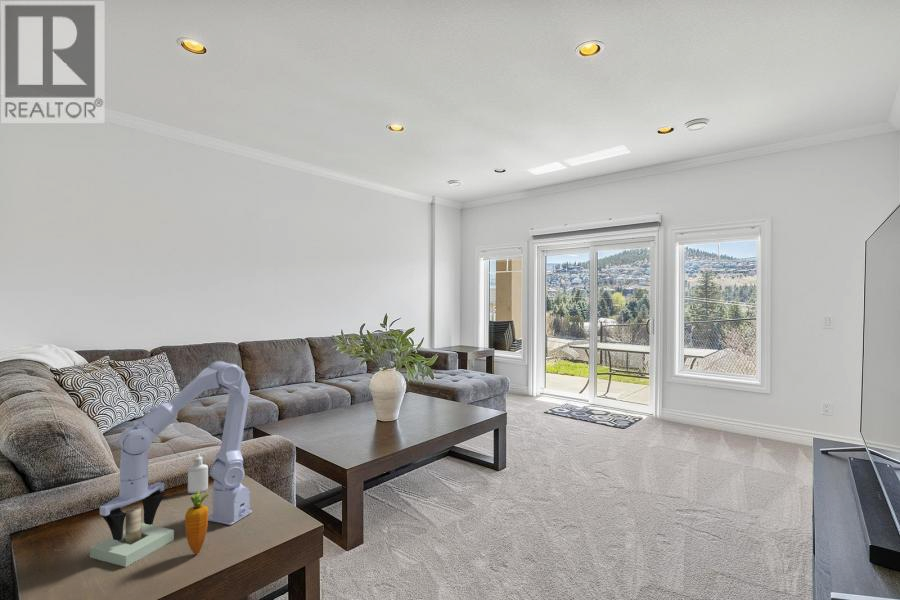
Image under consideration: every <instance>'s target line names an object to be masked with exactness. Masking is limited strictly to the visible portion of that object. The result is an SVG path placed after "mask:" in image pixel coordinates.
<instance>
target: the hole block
mask: <svg viewBox="0 0 900 600" xmlns="http://www.w3.org/2000/svg"><path fill="white" fill-rule="evenodd" d="M174 538H175V530H174V529H171V528H166V527H161V526H158V525H153V524H151V525H148V524H145V523H144V522H142V523H141V540H139V541H137V542H135V543H133V544H131V545H130V544H126V543H125V529H123V537H122V539H121V540H119V541H118V540H114V539H113V536H112V535H111V536H109V537H107V538H105V539H103V540H101V541H99V542H97V543H95V544H94V545H91V546H90V547H89V558H91V559H95V560H98V561H102V562H106V563H108V564H109V563H110V564H114V565H117V566H121V567H124V568H127V567H129V566H130V564H131V565H133V564H134V563H135V561H136V562H138V561H140V560H141V559H143V558H144V557H146V556H149V555H150V554H152V553H153V552H155V551H157V550H158V549H160V548H162V547H164V546H165V545H167V544H170V543H171V542H173V541H175V539H174ZM137 560H138V561H137ZM133 562H134V563H133Z"/></svg>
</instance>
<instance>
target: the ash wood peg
mask: <svg viewBox="0 0 900 600" xmlns="http://www.w3.org/2000/svg"><path fill="white" fill-rule="evenodd" d="M142 508H143V507H141V506H134V507H130V508H128V509H126V510H125V513H126V516H125V529H124V530H125V543H126V544H130V545H131V544H133V543H135V542H137V541H139V540H141V523H143V522H142V521H143V520H142V518H143V517H142V514H143V513H142V512H143V511H142V510H143V509H142Z"/></svg>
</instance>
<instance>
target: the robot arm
mask: <svg viewBox="0 0 900 600" xmlns="http://www.w3.org/2000/svg"><path fill="white" fill-rule="evenodd" d="M245 373H246V372H245V371H244V370H243V369H242V368H241V367H240V366H239V365H237V364H235V363H228V362H226V361H223V360H216V361H213V362H212V363H211V364H209V366H207V367H205V368H203V370H202V371H200V372H199V374H198V375H197V376H196V377H195V378H193V379H192V380H191V382H189V383H188V384H187V385H186V386H185V387H184V388H183V389H181V391H179V392H178V393H177V394H176V395H175V396H174V397H173V398H172V399H171V400H169V401H168V402H164V403H163V402H162V403H159V404H157V405H153V406H151V407H149V408H150V409H149V410H150V411H149V412H148V413H146V414H145V415H144V416H143V417H141V419H139V420H138V421H134V422H133V423H132V426H131V427H127V428H125V429H124V430H122V432H120V434H119V436H118V439H117V441H116V442H117V445H118V447H119V448H121V449H120V456H119V457H120V459H119V460H120V461H119V495H118V496H117V497H115V498H113V499H112V500H110V501H108V502H107V503H104V504H103V505H100V506H99V516H101V517H102V519H103V520H104V521H105V522H106V523H107V525H108V528H109V529H110V533H111V536H113V539H114V540H118V541H119V540H121V539H122V537H123V531H124V523H125V520H126V511H125V512H124V511H122V510H121V509H122V508H125V507H127V506H129V505H131V504H133V503H136V502H139V501H141V502H142V506H143V507H142V508H143V523H145V524H148V525H153V524H154V520H155V516H156V513H157V511H158V508H159V507H160V504H161V503H162V501H163V499H164V497H165V494H164V493H163V491H165V483H164V482H160V481H159V482H156V483H153V484H150V485H149V448H150V447H151V446H152V444H153V440H154V439H155V438H156V437H157V436H159V435H160V434H161V433H162V432H163V431H164V430H166V429H167V428H168V427H169V426H170V425H171V424H173V422H175V421H176V420H177V419H178V413H179V411H180V410H181V409H183V408H184V407H185V406H187V405H188V404H189V403H190V402H193V400H194V399H195V398H196V397H198V396H199V395H201V394H202V393H203V392H204V391H207V390H212V389H219V388H220V387H221V388H222V389H223V390H224V391H225V392H226V393H227V394H228V400H227V407H226V413H225V418H224V419H225V420H224V423H223V424H224V425H223V429H222V430H223V431H222V436H221V443H220V449H219V450H218V451H217V453H216V454H215V458H214V461H213V462H212V463H211V465H210V468H209V474H210V477H211V478H212V479H213V483H212V512H211V514H208V522H214V523H219V524H224V525H228V526H232V525H233V524H235V523H238V522H239V521H240V520H242V519H243V518H245V517H247V516H248V515H250V514H252V512H253V510H252V509H251V491H250V489H249V488H248V487H247V486H244V485H243V483H242V481H244V478H245V474H246V473H245V468H244V465H243V464H244V458H243V455H242V452H241V448H242V444H243V437H244V429H245V424H246V418H247V411H248V405H249V398H250V392H251V388H250V386H249V383H248V381H247V379H246V376H245Z"/></svg>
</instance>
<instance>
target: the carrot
mask: <svg viewBox="0 0 900 600" xmlns="http://www.w3.org/2000/svg"><path fill="white" fill-rule="evenodd" d="M200 496H201V492H200V491H198V492H197V493H195V495H194V494H193V495H191V496H190V501H191V502H192V505H193V506H191V507H189V508H188V509H187V511H186V512H185V518H184V519H185V523H184V524H185V525H184V526H185V535H186V540H187V544H188V547H189V549H190V550H191V552H192V553H193V554H194V555H198V554H199V553H200V551H201V549H202V548H203V545H204V542H205V539H206V535H207V531H208V526H209V525H208V524H209V521H208V516H209V507H208V506H207V505H204V504H203V501H204V500H205V499H206V498H208V496H209V494H208V493H205V494H204V495H203V496H202V497H200Z"/></svg>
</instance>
